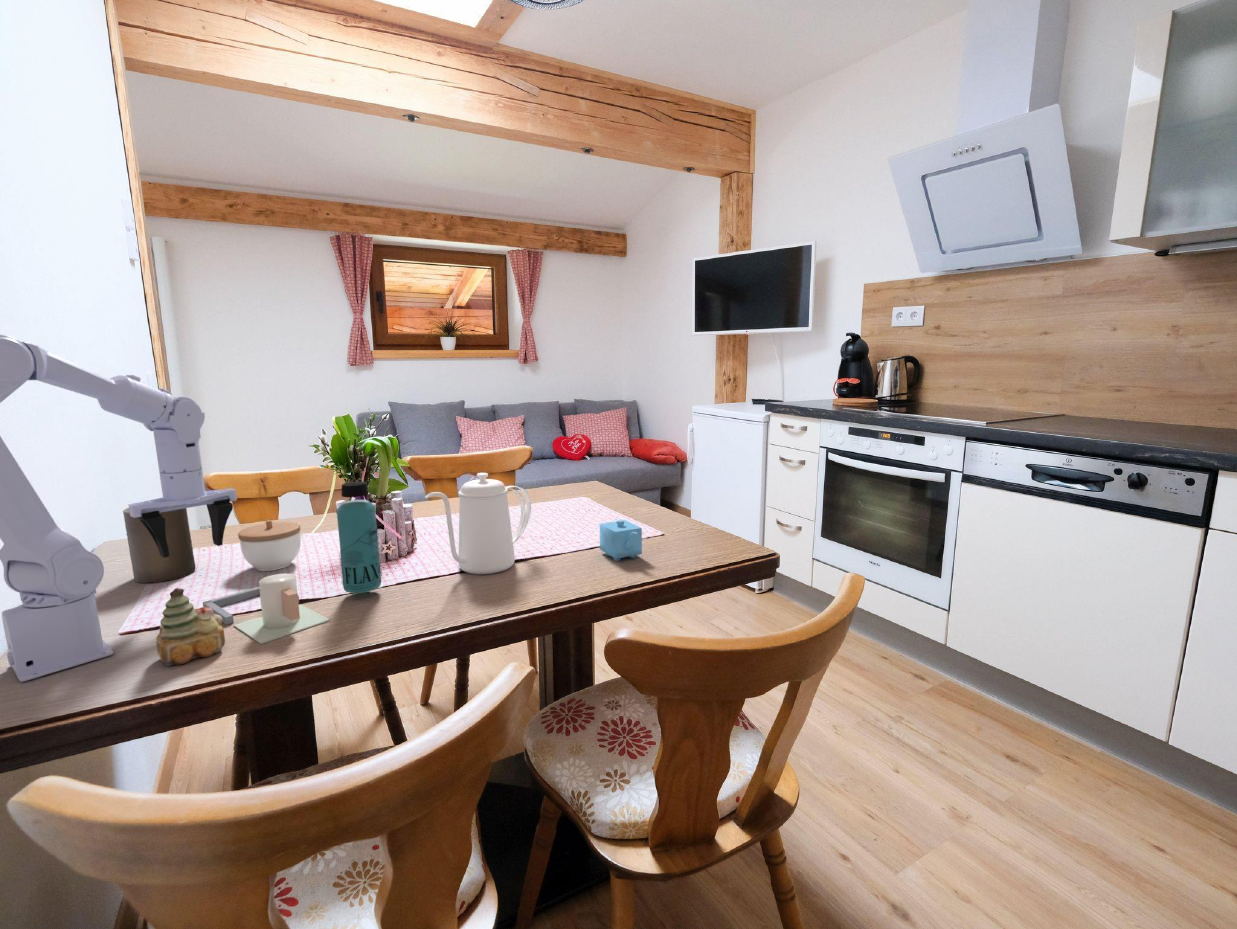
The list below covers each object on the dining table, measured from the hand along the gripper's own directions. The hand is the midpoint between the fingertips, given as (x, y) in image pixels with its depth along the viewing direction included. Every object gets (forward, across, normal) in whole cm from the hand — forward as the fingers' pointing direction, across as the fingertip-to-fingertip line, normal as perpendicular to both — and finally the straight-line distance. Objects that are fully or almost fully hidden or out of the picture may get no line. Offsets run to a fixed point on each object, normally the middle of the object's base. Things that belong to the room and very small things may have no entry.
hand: (192, 550), depth 101 cm
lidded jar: (+10, +16, +10) cm, 21 cm away
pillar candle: (+10, +1, +22) cm, 24 cm away
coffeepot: (+10, +41, -25) cm, 49 cm away
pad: (+9, +5, -20) cm, 23 cm away
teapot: (+10, +62, -43) cm, 76 cm away
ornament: (+10, -7, -20) cm, 24 cm away
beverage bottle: (+10, +19, -19) cm, 29 cm away
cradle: (+9, +5, -9) cm, 14 cm away
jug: (+9, +5, -21) cm, 24 cm away
